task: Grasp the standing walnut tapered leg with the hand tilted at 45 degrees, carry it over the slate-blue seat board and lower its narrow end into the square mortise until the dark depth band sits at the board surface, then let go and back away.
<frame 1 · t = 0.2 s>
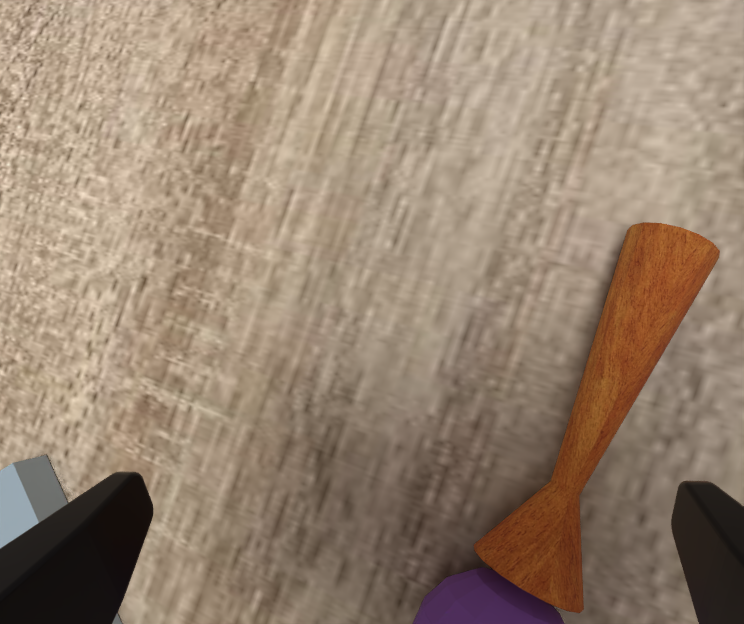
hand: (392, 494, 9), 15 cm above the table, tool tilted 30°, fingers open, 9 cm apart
kendama: (557, 466, 23), on the table
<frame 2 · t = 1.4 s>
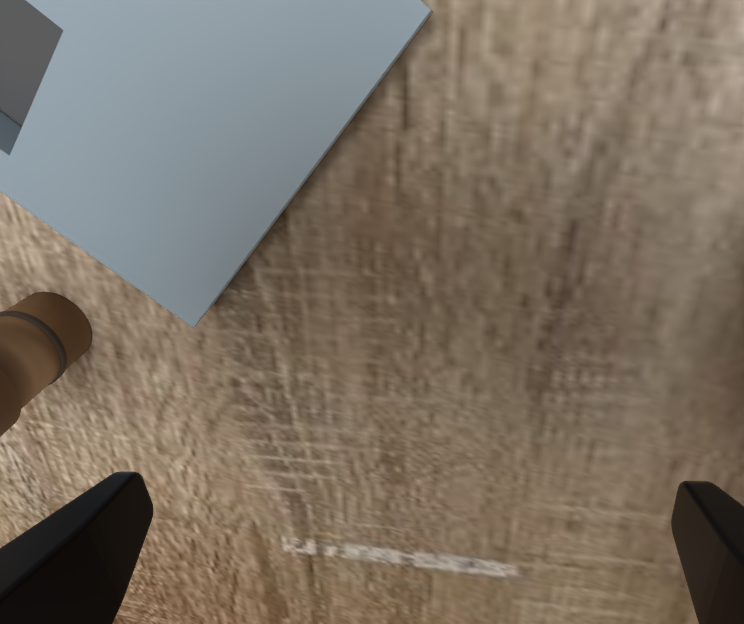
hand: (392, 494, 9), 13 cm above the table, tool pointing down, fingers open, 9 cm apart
seat board: (118, 27, 18), on the table
leg: (55, 325, 25), on the table
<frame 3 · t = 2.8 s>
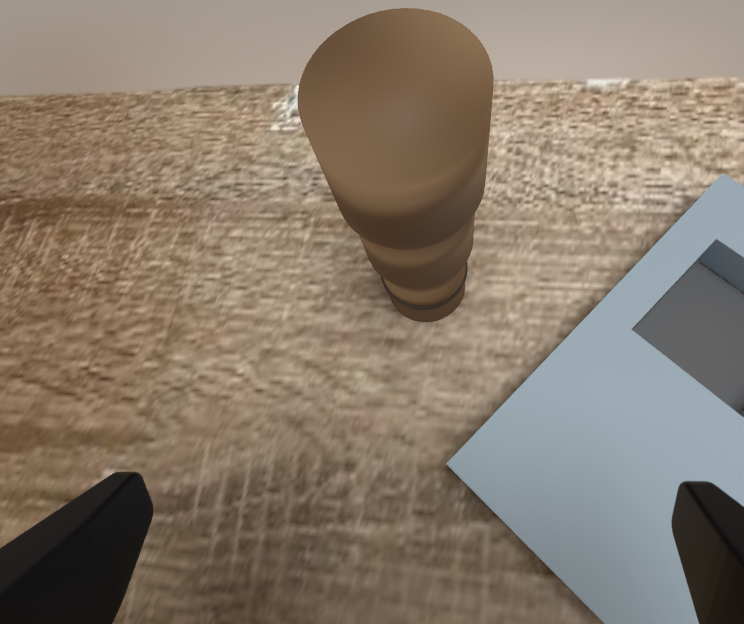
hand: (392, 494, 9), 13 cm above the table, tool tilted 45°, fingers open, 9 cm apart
seat board: (729, 448, 21), on the table
leg: (426, 285, 24), on the table
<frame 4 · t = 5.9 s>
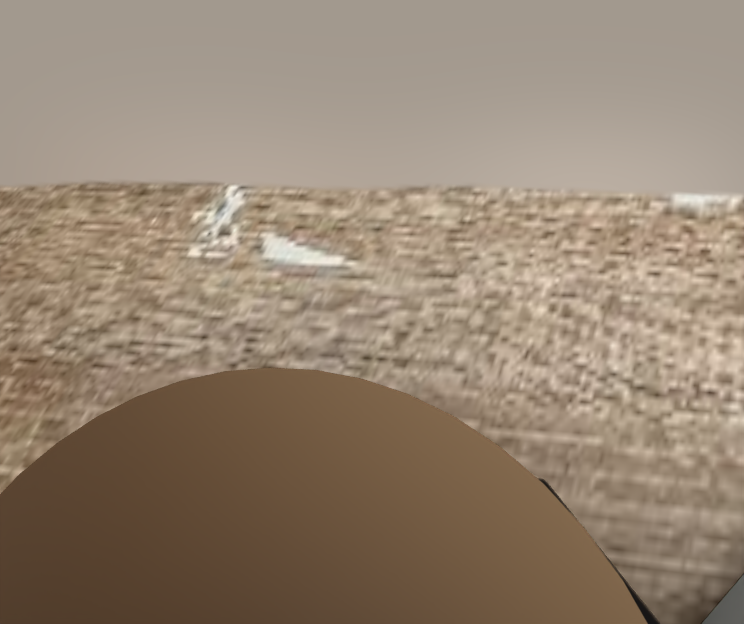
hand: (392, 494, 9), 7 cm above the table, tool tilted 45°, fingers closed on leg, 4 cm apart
leg: (419, 544, 15), on the table, touching gripper
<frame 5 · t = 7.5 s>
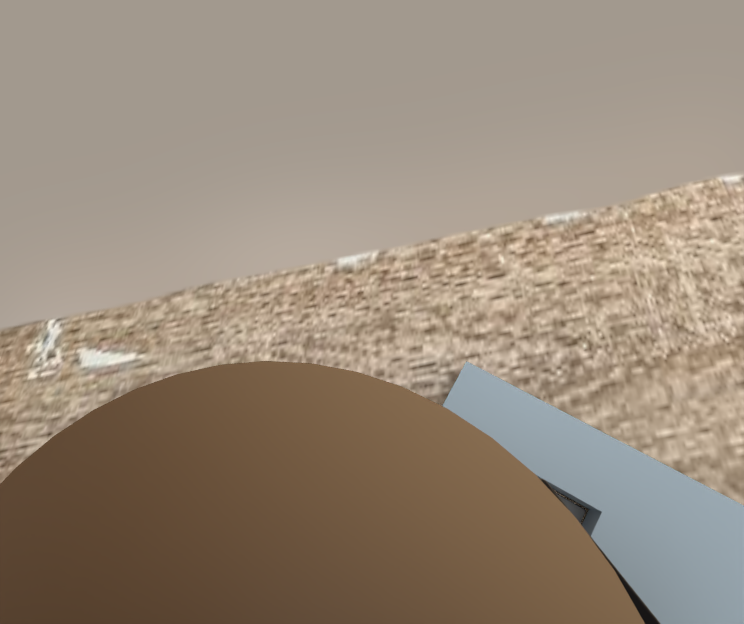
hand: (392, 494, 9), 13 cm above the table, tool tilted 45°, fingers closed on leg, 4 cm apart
leg: (418, 542, 15), point 7 cm above the table, touching gripper
when the fingers open (8 cm above the table, at t = 9.3 s): leg stays where it is, resting on seat board.
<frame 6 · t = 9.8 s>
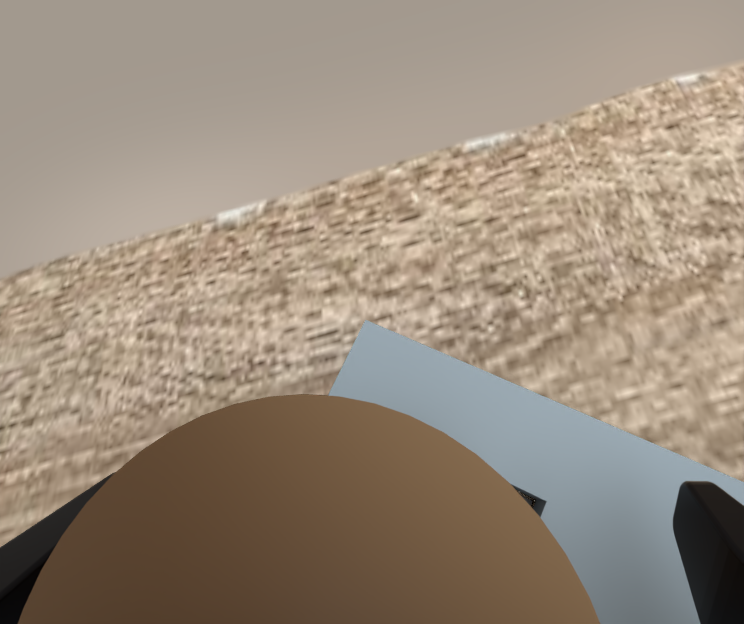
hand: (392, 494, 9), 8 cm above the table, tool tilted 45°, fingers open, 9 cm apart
leg: (422, 541, 16), resting on seat board
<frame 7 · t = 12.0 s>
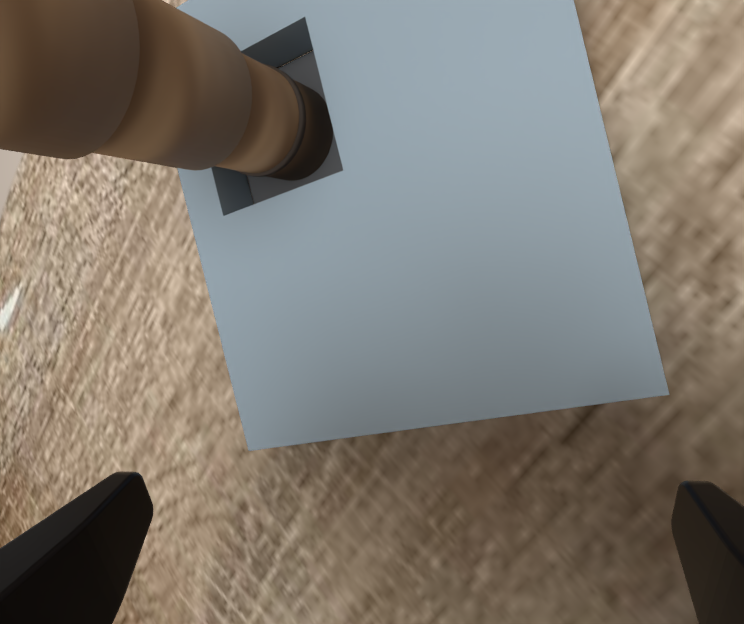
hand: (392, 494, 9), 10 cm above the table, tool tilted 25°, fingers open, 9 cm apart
seat board: (385, 186, 19), on the table
leg: (292, 133, 20), resting on seat board
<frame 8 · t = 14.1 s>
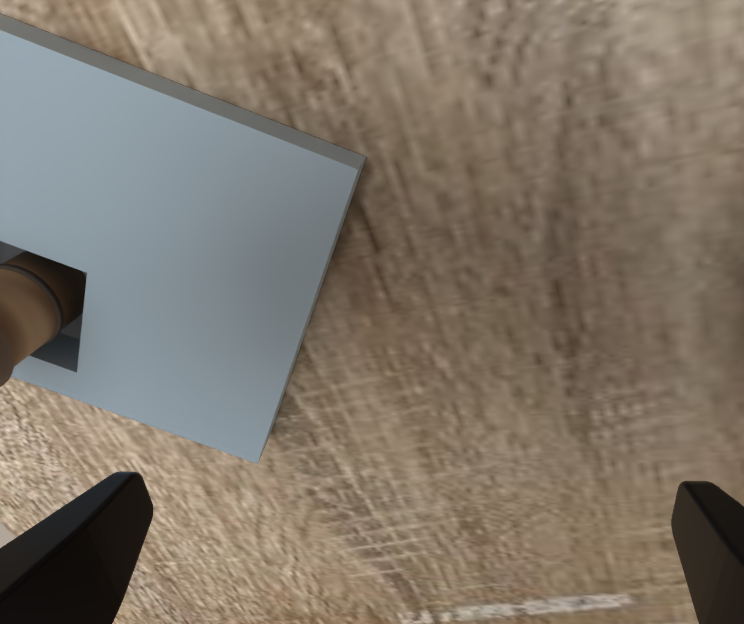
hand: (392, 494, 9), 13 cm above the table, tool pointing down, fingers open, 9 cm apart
seat board: (128, 247, 22), on the table
leg: (52, 284, 23), resting on seat board
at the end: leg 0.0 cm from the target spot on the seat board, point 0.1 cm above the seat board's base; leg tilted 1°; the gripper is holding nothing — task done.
